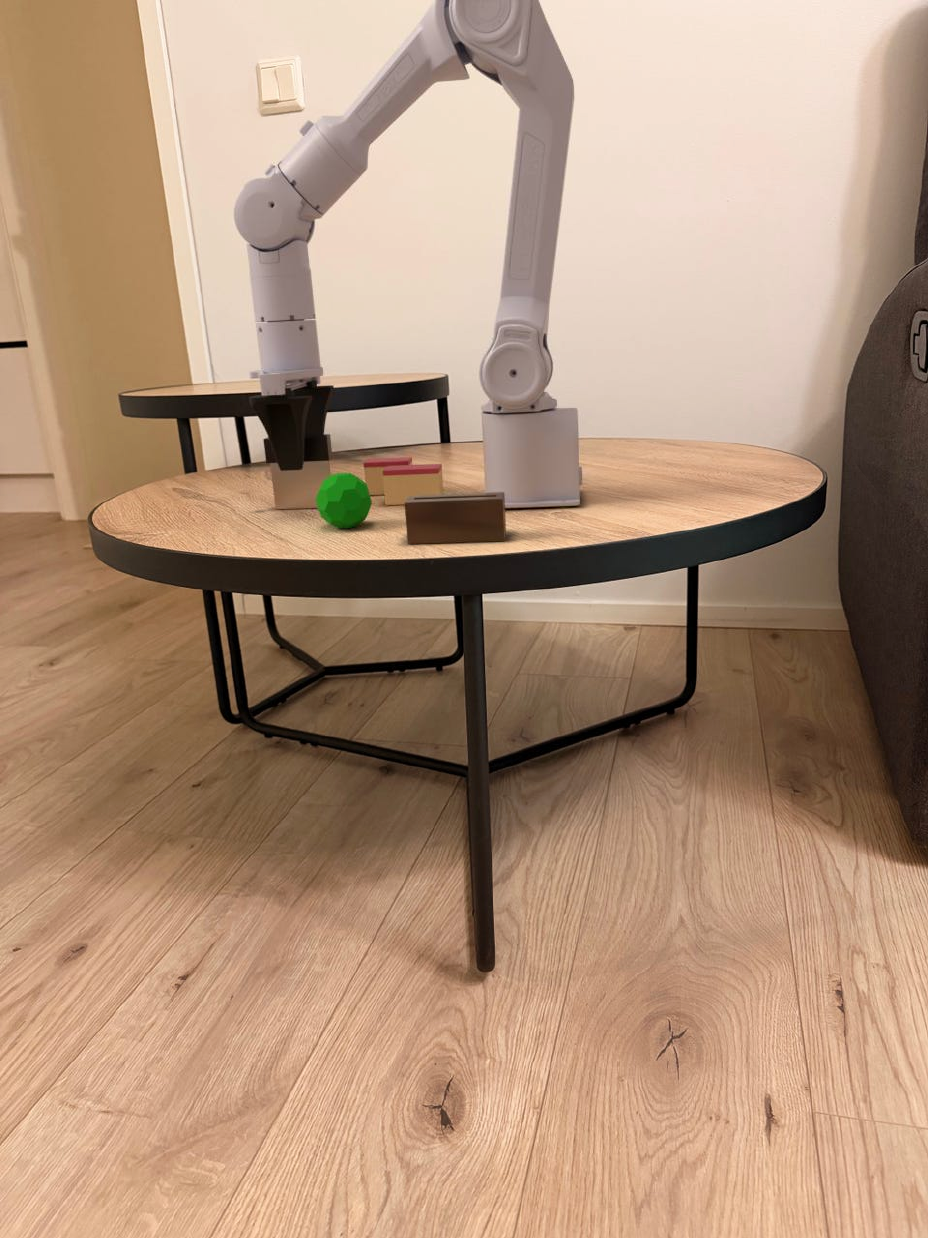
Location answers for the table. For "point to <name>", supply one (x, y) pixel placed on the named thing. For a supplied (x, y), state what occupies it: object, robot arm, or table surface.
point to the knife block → (455, 518)
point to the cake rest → (411, 482)
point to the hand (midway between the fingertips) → (301, 463)
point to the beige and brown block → (301, 474)
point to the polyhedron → (343, 500)
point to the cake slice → (380, 472)
